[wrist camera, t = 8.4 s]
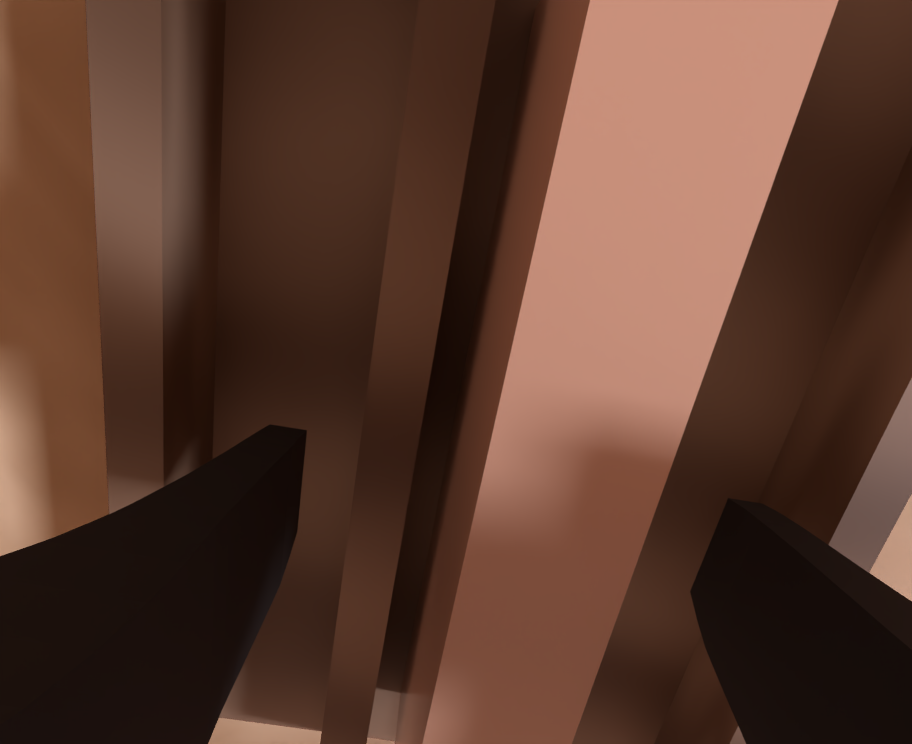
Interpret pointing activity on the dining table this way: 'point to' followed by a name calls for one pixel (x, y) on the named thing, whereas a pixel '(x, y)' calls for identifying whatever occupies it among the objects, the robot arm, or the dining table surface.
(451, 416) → the slatted brown panel
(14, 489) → the dining table surface
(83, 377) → the dining table surface
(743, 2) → the clay strip
